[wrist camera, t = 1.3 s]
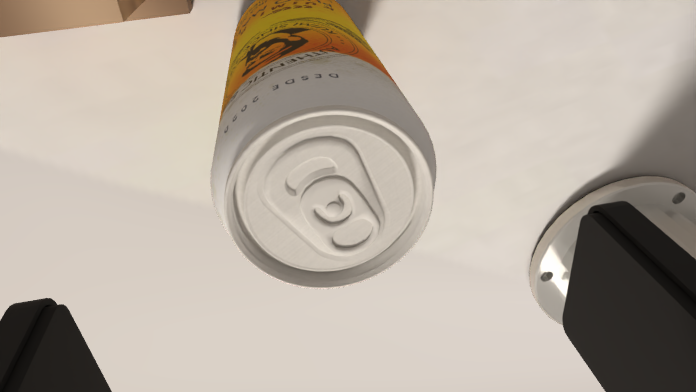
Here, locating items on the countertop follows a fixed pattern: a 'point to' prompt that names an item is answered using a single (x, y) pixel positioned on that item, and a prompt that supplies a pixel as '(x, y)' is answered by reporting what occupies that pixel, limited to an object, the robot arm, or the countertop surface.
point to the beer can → (317, 150)
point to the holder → (80, 13)
